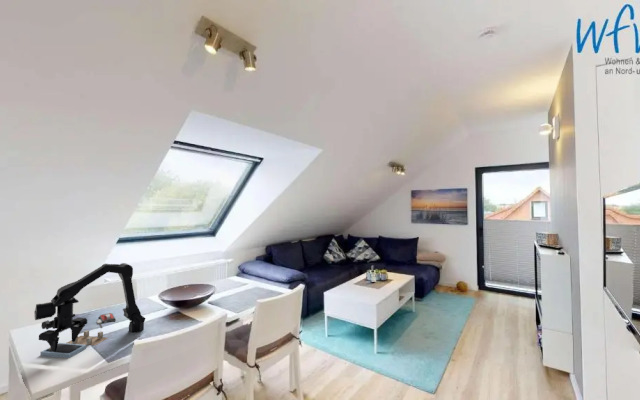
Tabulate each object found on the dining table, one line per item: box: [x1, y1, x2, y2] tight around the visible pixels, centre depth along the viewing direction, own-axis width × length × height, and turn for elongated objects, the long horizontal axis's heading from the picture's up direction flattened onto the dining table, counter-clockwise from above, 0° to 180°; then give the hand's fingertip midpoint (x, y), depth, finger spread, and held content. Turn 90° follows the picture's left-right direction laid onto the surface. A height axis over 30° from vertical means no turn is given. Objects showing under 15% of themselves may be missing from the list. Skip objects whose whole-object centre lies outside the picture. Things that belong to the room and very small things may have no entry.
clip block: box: [66, 330, 108, 346], centre depth 147 cm, size 16×8×4 cm, turn 85°
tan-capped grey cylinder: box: [49, 343, 77, 353], centre depth 135 cm, size 11×4×4 cm, turn 84°
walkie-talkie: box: [96, 312, 116, 329], centre depth 170 cm, size 9×4×20 cm
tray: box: [40, 342, 87, 359], centre depth 135 cm, size 15×9×3 cm, turn 85°
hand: (64, 346), depth 135 cm, fingers open, 9 cm apart
